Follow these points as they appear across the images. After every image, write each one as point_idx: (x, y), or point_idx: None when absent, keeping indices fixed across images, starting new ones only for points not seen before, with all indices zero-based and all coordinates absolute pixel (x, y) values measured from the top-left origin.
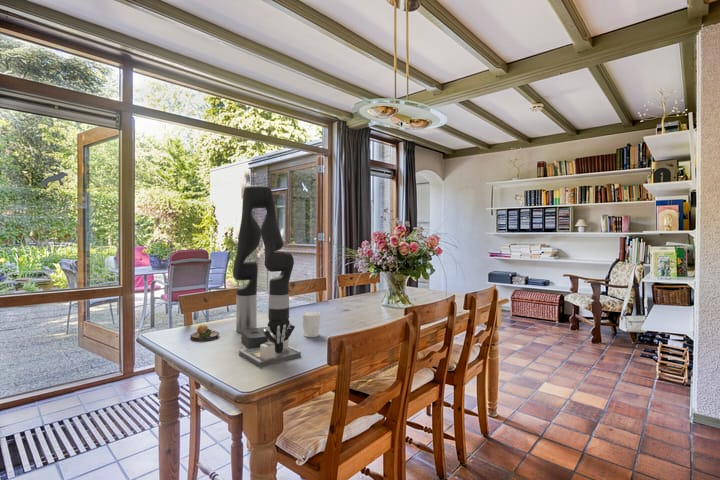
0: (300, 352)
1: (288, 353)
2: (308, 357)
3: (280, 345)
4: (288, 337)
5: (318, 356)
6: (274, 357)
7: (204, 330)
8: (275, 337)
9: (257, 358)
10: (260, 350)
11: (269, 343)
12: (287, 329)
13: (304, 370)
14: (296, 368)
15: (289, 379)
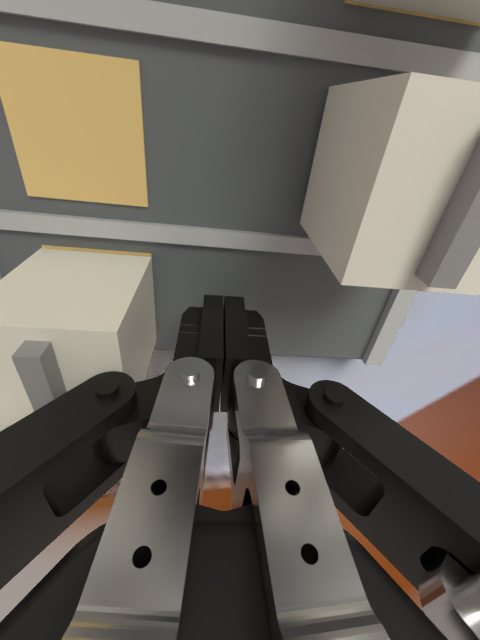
0: (375, 361)
1: (306, 320)
2: (378, 377)
3: (221, 392)
4: (339, 463)
5: (423, 396)
6: (162, 323)
7: None
8: (180, 428)
9: (11, 247)
10: (2, 286)
11: (96, 361)
12: (442, 546)
13: (221, 468)
14: (209, 441)
15: (116, 491)
